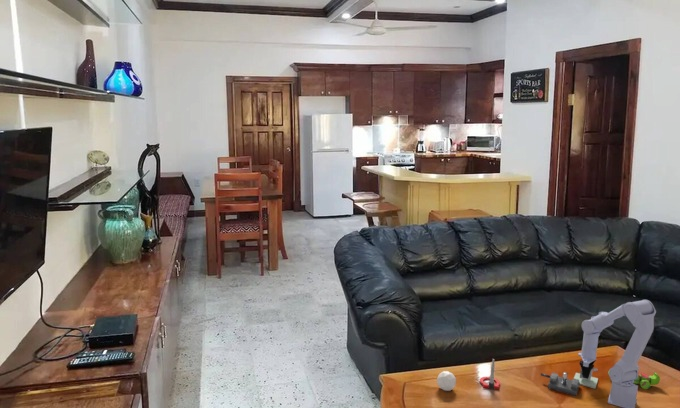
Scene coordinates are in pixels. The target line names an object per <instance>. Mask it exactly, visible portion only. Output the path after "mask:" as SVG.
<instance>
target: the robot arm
mask: <svg viewBox="0 0 680 408" xmlns="http://www.w3.org/2000/svg"><path fill="white" fill-rule="evenodd" d="M656 313H657V310H656V308H655V306H654V304H653V303H652V302H651V301H650V300H648V299H642V300H635V301H632V302H631V301H627V302H626V303H622V304H621V305H620V306H617V307H616V308H614V309H613V310H611V311H609V312H607V311H599V312H598V314H597V315H595V316H591V317H590V319H585V320H584V319H583V321H582V323H581V329H582V331H583V338H582V345H581V352H578V354H577V355H578V356H579V357H580V358H581V360H579V365H580V370H581V369H582V377H583V378H587V379H588V377H589V374H590V371H591V370H592V368H595V364H594V363H595V362H596V361H597V353H598V352H597V350H598V343H599V336H601V332H603V330H605V329H607V328H609V327H610V326H612V325H613V324H614V322H615V320H617V319H620V318H623V317H626V318H627V319H628V321H629V322H630V323H631V324H632V326H633V327H634V328H635V329H634V331H633V333H632V336H631V338H630V340H629V342H628V343H627V346H626V348H625V351H624V352H623V355H622V356H621V359H619V360H618V361H617V362H616V363H615V364H614V365H613V366H612V367H610V368H609V370H608V372H609V374H608V376H609V378H610V380H611V387H610V392H609V396H608V400H607V404H610V405H613V406H616V407H620V408H636V404H637V401H638V398H637V396H638V389H639V388H638V387H639V385H638V384H636V383H634V380H635V379H637V378H638V372H639V370H640V366H639V365H638V363H639V360H640V358H641V357H642V354H643V352H644V351H645V348H646V346H647V344H648V342H649V341H650V339H651V336H652V334H653V333H654V329H655V327H654V326H655V324H654V323H655V316H656Z"/></svg>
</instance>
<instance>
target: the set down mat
mask: <svg viewBox="0 0 680 408" xmlns="http://www.w3.org/2000/svg"><path fill="white" fill-rule="evenodd" d="M573 378H574V379H578V380H579V382H580V385H579V386H584V387H588V388H591V389H593V390H594V389H596V387H597V384H598V381H599V378H598V377H595V376H592V377H591V380H590V381H589V380H586V379H582V378H580V372H575V374H574V377H573Z"/></svg>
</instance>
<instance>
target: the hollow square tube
mask: <svg viewBox="0 0 680 408" xmlns="http://www.w3.org/2000/svg"><path fill="white" fill-rule="evenodd" d="M593 372H596V373H597V372H598V368H595V367H593V368H592V370H591V371H590V374H589V377H588V379H587V378H583V377H582V369H581V368H580V372H579V373H580V378H582V379H586V380H589V381H590V380H591V377H593Z"/></svg>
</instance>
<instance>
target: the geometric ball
mask: <svg viewBox="0 0 680 408" xmlns="http://www.w3.org/2000/svg"><path fill="white" fill-rule="evenodd" d="M456 379H457V378H456V376H455V375H454V374H453V372H451V371H449V370H443V371H441V372H440V373H439V374H438V376H437V378H436V382H437V383H436V384H437V386H438V387H439V388H440V389H441V390H443V391H445V392H450V391H451V390H453V389H455V386H456V384H457V380H456Z"/></svg>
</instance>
